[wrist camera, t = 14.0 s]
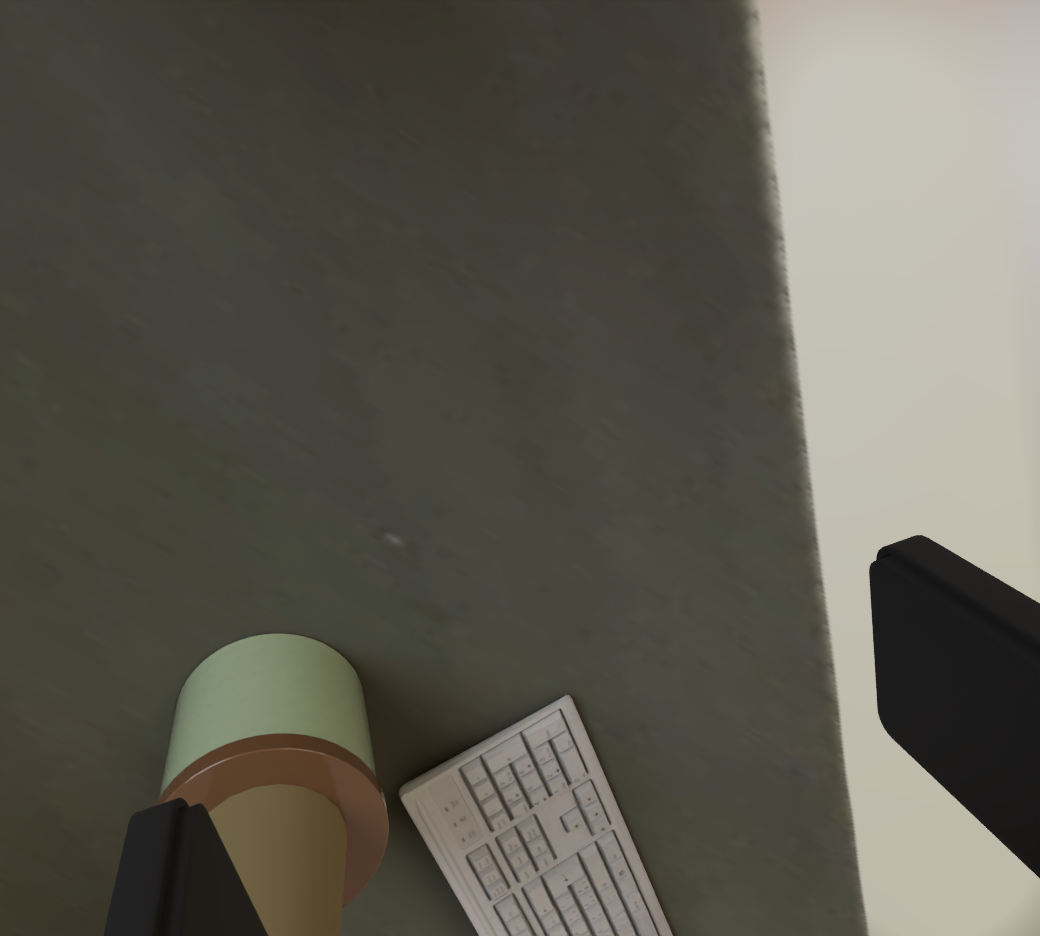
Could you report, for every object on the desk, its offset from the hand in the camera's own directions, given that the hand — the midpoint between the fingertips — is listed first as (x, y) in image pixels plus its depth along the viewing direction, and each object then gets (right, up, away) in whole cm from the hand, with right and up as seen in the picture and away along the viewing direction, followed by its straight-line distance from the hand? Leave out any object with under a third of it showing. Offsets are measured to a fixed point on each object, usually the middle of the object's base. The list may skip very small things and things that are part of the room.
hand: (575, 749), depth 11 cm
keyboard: (+2, -23, +40) cm, 46 cm away
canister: (-13, -8, +31) cm, 34 cm away
